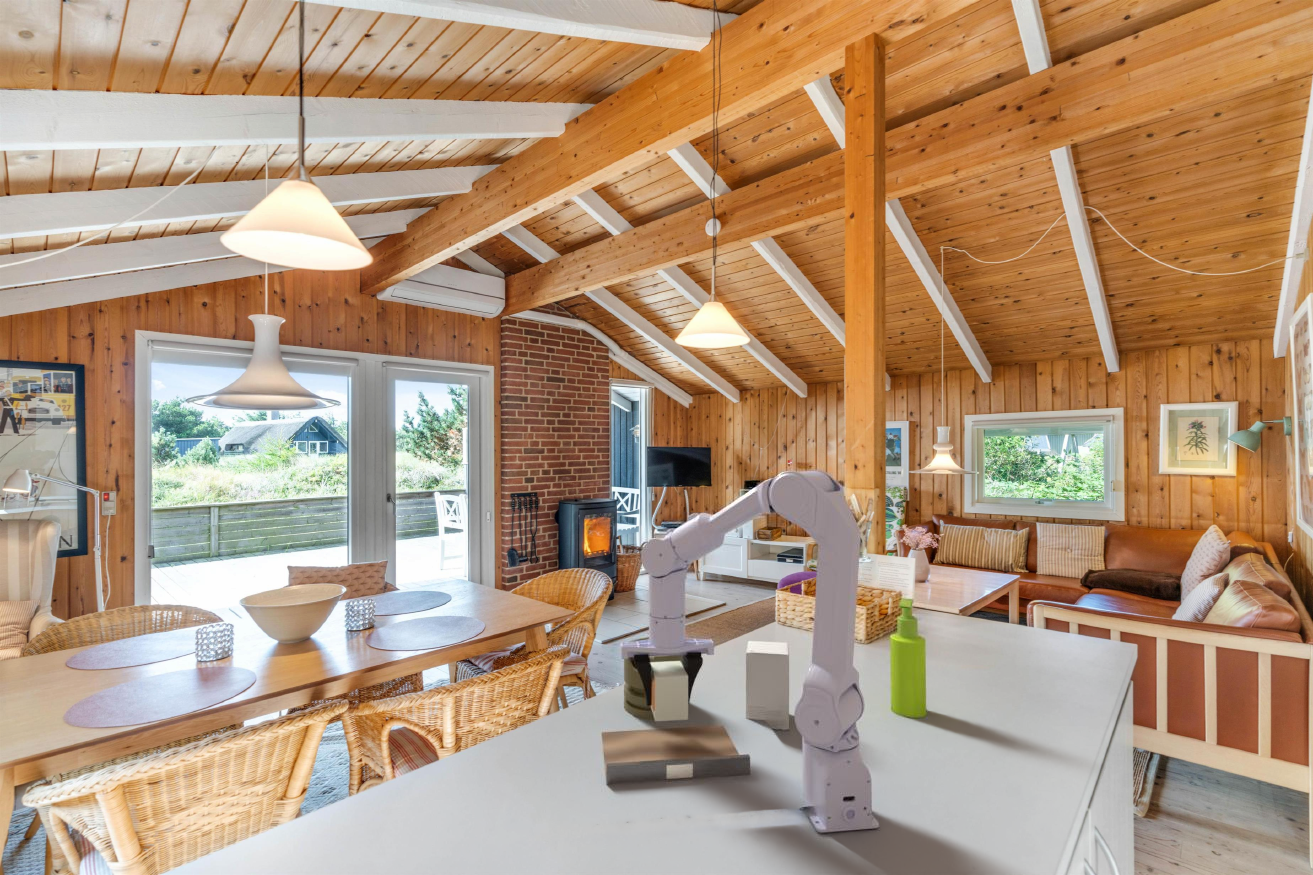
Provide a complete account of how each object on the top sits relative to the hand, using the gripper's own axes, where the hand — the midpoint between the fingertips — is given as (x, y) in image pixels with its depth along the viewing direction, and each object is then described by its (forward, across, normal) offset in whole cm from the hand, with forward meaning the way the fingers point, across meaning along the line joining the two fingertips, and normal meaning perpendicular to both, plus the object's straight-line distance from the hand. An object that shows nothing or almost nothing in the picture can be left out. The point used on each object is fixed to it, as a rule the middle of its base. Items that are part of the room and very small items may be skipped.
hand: (667, 702), depth 97 cm
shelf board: (+8, 0, +3) cm, 8 cm away
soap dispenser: (+8, -45, -9) cm, 46 cm away
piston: (+8, 0, -14) cm, 16 cm away
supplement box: (+8, -19, -9) cm, 22 cm away
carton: (+1, 0, 0) cm, 1 cm away
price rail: (+6, 0, +11) cm, 13 cm away
